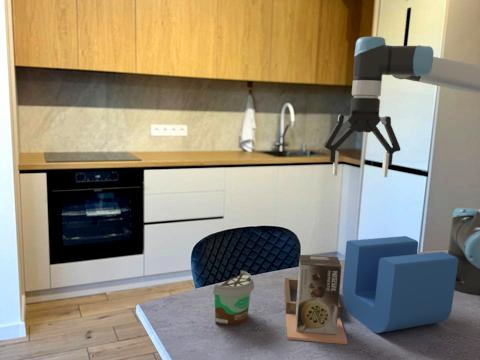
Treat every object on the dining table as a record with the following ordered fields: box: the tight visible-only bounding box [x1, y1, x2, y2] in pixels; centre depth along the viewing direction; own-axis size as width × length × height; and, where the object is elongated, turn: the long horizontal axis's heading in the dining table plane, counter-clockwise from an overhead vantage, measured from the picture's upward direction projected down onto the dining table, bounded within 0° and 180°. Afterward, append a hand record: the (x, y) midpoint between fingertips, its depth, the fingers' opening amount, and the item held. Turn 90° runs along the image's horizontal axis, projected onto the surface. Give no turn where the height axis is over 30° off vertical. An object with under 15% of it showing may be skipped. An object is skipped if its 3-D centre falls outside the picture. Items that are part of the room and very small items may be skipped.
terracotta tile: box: [285, 313, 349, 345], centre depth 105 cm, size 13×11×1 cm
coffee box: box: [295, 254, 342, 334], centre depth 104 cm, size 9×6×16 cm
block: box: [342, 235, 458, 334], centre depth 111 cm, size 18×18×18 cm
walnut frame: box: [283, 277, 341, 319], centre depth 119 cm, size 13×16×3 cm
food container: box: [212, 269, 255, 327], centre depth 107 cm, size 12×6×10 cm, turn 148°
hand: (359, 175), depth 127 cm, fingers open, 13 cm apart
